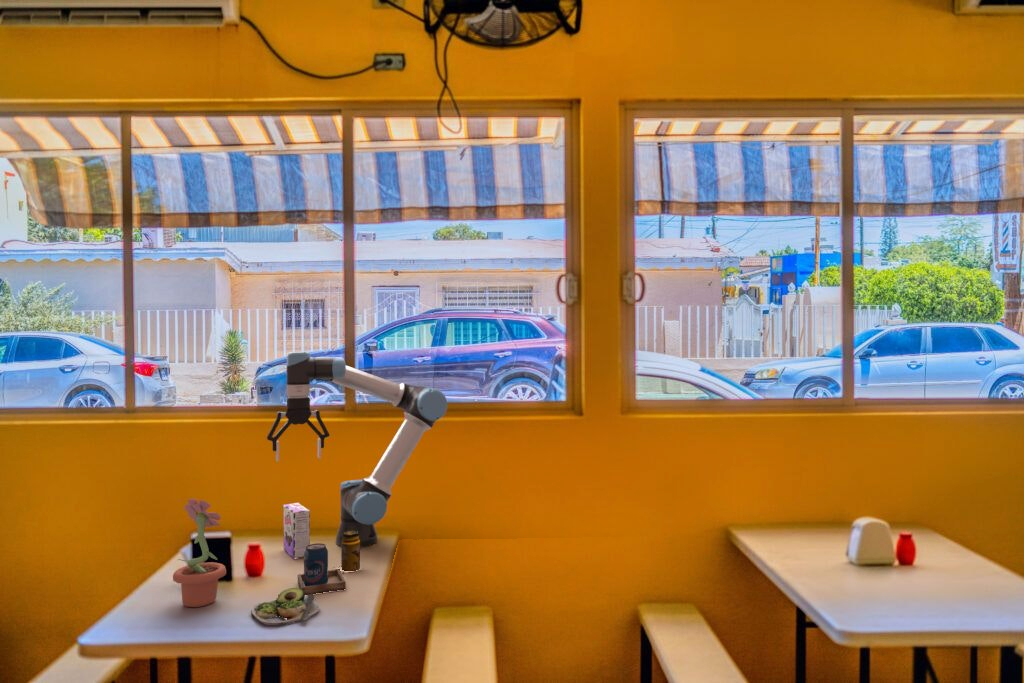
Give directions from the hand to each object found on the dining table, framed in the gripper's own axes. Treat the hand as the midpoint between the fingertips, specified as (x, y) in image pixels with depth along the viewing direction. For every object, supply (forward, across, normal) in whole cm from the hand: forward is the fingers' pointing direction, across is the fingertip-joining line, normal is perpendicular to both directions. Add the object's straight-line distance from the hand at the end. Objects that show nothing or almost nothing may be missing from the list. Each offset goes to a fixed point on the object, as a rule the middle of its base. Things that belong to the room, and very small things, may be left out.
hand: (298, 459), depth 224 cm
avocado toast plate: (+35, -7, -44) cm, 57 cm away
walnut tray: (+35, +4, -28) cm, 44 cm away
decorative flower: (+35, -29, -27) cm, 53 cm away
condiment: (+35, +14, -15) cm, 41 cm away
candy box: (+35, 0, +10) cm, 36 cm away
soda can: (+34, +2, -29) cm, 45 cm away
